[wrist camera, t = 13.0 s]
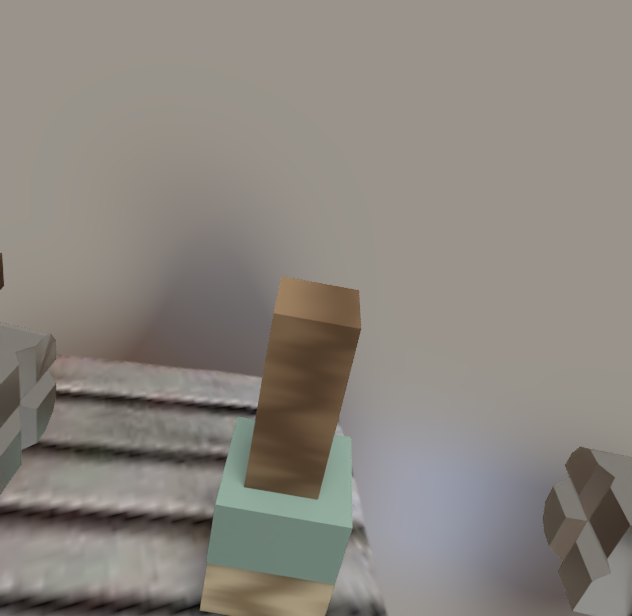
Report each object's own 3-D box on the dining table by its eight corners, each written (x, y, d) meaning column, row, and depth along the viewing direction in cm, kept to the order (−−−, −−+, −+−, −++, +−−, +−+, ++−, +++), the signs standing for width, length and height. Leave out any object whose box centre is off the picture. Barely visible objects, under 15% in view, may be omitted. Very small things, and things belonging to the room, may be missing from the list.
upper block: (206, 563, 36) (215, 504, 34) (228, 470, 43) (237, 416, 41) (334, 584, 36) (352, 528, 34) (336, 489, 44) (351, 437, 41)
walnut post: (243, 487, 35) (273, 313, 30) (253, 437, 39) (281, 276, 34) (317, 499, 36) (360, 328, 30) (320, 449, 40) (358, 290, 34)
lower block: (199, 611, 39) (207, 560, 36) (222, 516, 46) (230, 468, 43) (319, 632, 39) (335, 582, 37) (324, 534, 46) (337, 488, 44)
